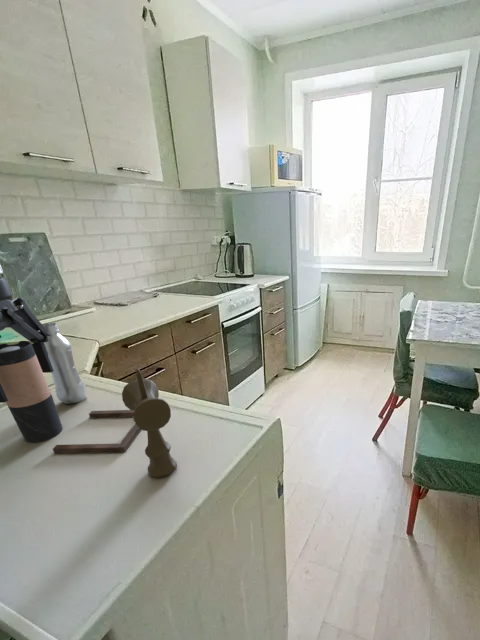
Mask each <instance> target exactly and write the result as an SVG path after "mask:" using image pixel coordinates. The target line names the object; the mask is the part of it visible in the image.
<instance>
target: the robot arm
mask: <svg viewBox="0 0 480 640" xmlns="http://www.w3.org/2000/svg"><path fill="white" fill-rule="evenodd" d="M3 273H4V270H3V267H2V265H1V264H0V332H1V331H4V330H5V329H8V328H10V329H11V330H13V331H15V332H16V333H17V334H19V335H20V336H22V337H23V338H24V339H25V340H26V341H29V342H31V344H32V346H33V349H34V351H35V354H36V356H37V359H38V362H39V364H40V367H41V369H42V372H43V374H44V373H45V374H47V373H48V374H49V373H50V374H51V372H53V371H54V370H53V368H52V365H51V363H50V360H49V357H48V352H47V349H46V346H45V344H44V342H48V336H49V332H48V331H47V330H46V329H45V327H44V326H43V325H42V322H41V321H40V320H39V319H38V318H37V316H36V315H35V314H34V313H33V312H32V310H31V309H30V308H29V306H28V304H27V302H26V300H25V298H24V297H13V291H12V289H11V286H10V284H9V282H8V279H7V278H6V277H5V276H2V275H3ZM7 401H8V399H7V397H6V395H5V392H4V390H3V388H2V386H1V384H0V404H4V403H6V402H7Z"/></svg>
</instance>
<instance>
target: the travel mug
mask: <svg viewBox="0 0 480 640" xmlns="http://www.w3.org/2000/svg"><path fill="white" fill-rule="evenodd" d="M32 344H33V343H32V342H30V341H29V340H20V341H19V342H18V343H15V344H14V343H13V344H8V343H0V384H1V386H2V388H3V390H4V392H5V395H6V397H7V399H8V401H7V402H5V403H6V406H7V407H8V409H9V411H10V413H11V415H12V417H13V419H14V421H15V423H16V425H17V427H18V429H19V431H20V433H21V435H22V437H23V439H24V441H25V442H26V443H29V444H30V443H31V444H37V443H42V442H45V441H49V440H51V439H53V438H55V437H56V436H58V435H60V433H62V431H63V424H62V422H61V418H60V416H59V415H60V414H59V412H58V409H57V406H56V405H55V404H56V403H55V400H54V397H53V395H52V392H51V389H50V387H49V385H48V382H47V379H46V376H45V375H44V373H43V372H42V369H41V367H40V364H39V362H38V359H37V356H36V354H35V351H34V349H33V346H32Z"/></svg>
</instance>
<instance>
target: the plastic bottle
mask: <svg viewBox="0 0 480 640" xmlns="http://www.w3.org/2000/svg"><path fill="white" fill-rule="evenodd" d="M41 324H42V323H41ZM42 325H43V326H44V327H45V329H46V330H47V331H48V332H49V336H48V342H44V344H45V346H46V349H47V352H48V357H49V360H50V363H51V365H52V368H53V370H54V371H53V372H50V374H51V377H52V380H53V384H54V389H55V395H56V397H57V399H58V400H59V402H61V403H62V404H66V405H69V404H70V405H71V404H75V403H78V402H81V401H82V400H84V399H85V398H86V397H87V393H88V392H87V387H86V386H85V383H84V382H83V380H82V379H81V377H80V375H79V372H78V370H77V368H76V365H75V360H74V356H73V351H72V346H71V342H70V341H69V340H68V339H67V338H66V337H64V336H63V335H62V334H61V333H59V332H60V329H59V327H58V324H57V323H56V322H48V323H43V324H42Z"/></svg>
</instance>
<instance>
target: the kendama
mask: <svg viewBox="0 0 480 640" xmlns="http://www.w3.org/2000/svg"><path fill="white" fill-rule="evenodd" d="M135 375H136V379H133V380H131V381H129V382H128V383H126V385H124V386H123V389H122V392H121V398H122V399H121V400H122V402H123V405H124V407H126V408H127V409H128V410H134V417H133V421H134V424H135V423H136V425H137V426H138V427H139V428H140V429H141V431H143V432H147V433H146V434H147V446H146V447H145V449H144V453H145V456H146V457H148V459H149V464H148V465H147V474H149V475H150V476H151V477H153V478H163V477H166V476H168V475H171V474H172V473H173V472H174V471H176V470H177V467H178V463H177V460H176V459H175V458H173V457H172V456H171V453H170V451H171V448H172V447H171V444H170V443H169V442H168V441H166V440H165V438H164V437H163V434H162V432H161V430H160V429H162V428H164V427H165V426H166V425H167V424H168V423H169V422H170V418H171V415H172V413H171V412H172V411H171V410H172V409H171V407H170V405H169V403H168V402H167V401H166V400H165V399H163V398H161V397H160V398H159V396H160V395H159V394H160V393H159V388H158V386H157V384H156V383H155V382H154V381H153V380H151V379H148V378H144V377H143V375H142V372H141V370H140V369H139V368H137V369H135Z"/></svg>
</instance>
